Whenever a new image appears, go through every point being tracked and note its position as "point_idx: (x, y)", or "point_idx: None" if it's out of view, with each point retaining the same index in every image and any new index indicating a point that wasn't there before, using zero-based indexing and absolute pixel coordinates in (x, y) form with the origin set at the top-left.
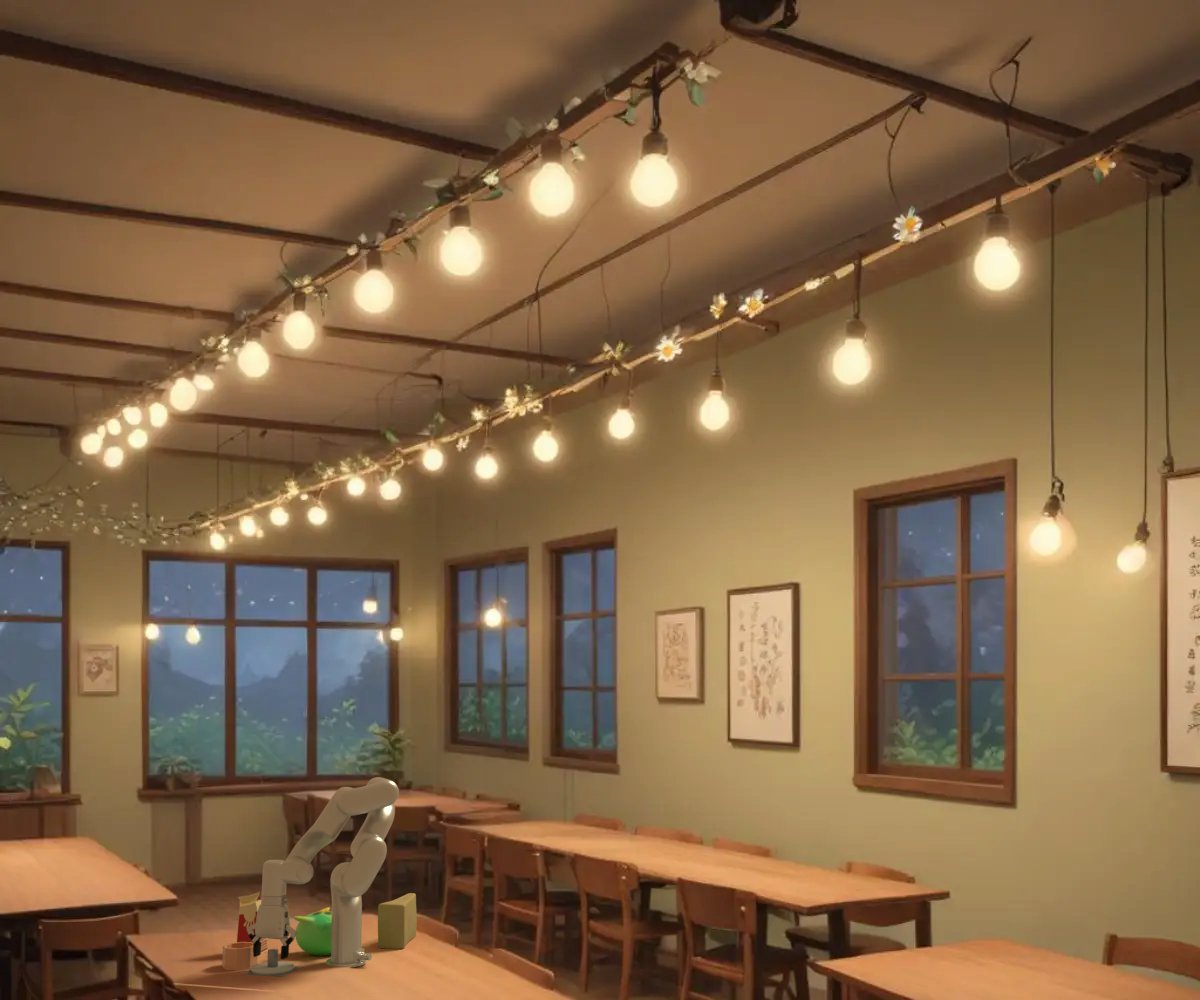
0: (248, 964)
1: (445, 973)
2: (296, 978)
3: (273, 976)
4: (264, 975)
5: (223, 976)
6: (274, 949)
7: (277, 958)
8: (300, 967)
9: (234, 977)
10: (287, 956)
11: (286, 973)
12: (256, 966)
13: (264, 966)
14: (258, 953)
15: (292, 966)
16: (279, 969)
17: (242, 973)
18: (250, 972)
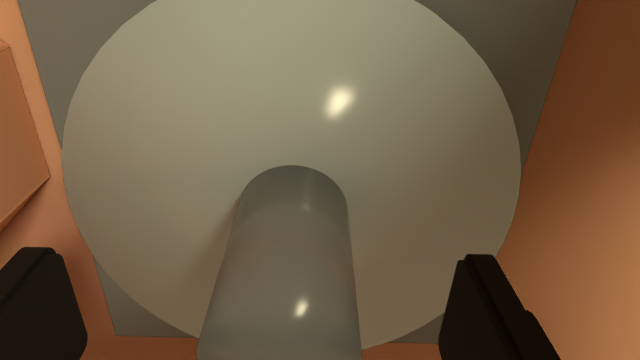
0: (6, 219)
1: None
2: (581, 300)
3: (405, 341)
4: None
5: None
6: (291, 343)
7: (353, 268)
8: (556, 11)
9: (111, 354)
10: (492, 262)
11: None
12: (137, 249)
13: (215, 235)
14: (60, 310)
15: (514, 179)
16: (423, 298)
17: (119, 324)
18: None
